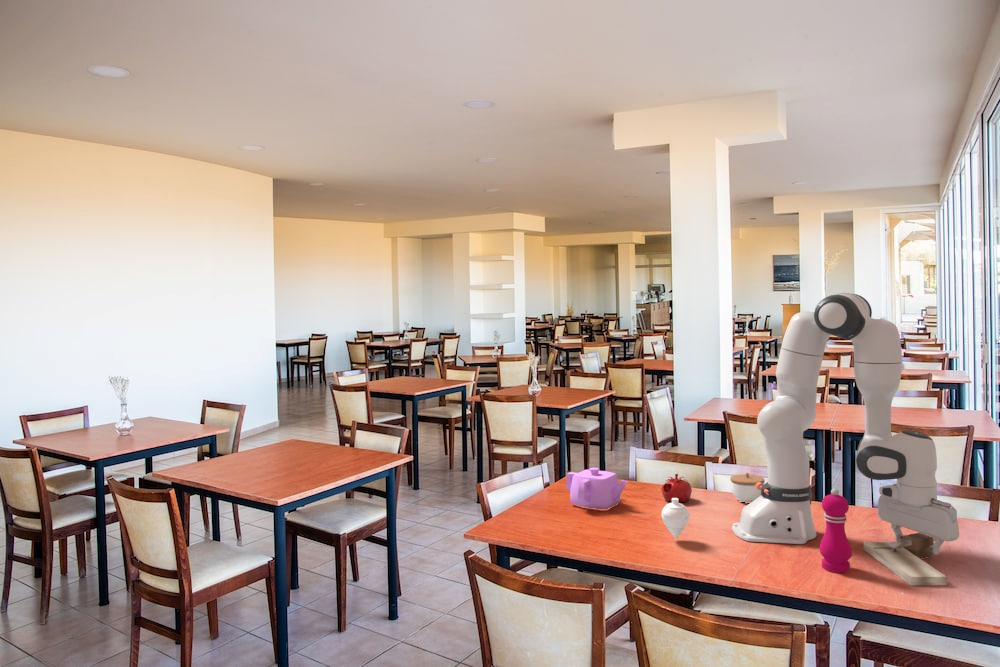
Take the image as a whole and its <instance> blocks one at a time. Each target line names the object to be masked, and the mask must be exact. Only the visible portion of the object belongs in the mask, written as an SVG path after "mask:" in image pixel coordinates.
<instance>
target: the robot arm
mask: <svg viewBox="0 0 1000 667" xmlns="http://www.w3.org/2000/svg"><path fill="white" fill-rule="evenodd" d="M872 311H873V310H872V306H871V304H870V302H869V301H868V300H867V299H866V298H865V297H863V296H862V295H859V294H856V293H849V292H848V293H847V292H840V293H837V294H832V295H828V296H826V297H824V298H823V299H821V300H820V301H819V302H818V303H817V304H816V306H815V309H814V312H812V311H800V312H797V313H795V314H793V315H792V317H791V318H790V320H789V322H788V325H787V327H786V330H785V333H784V336H783V337H782V338H783V339H782V342H781V347H780V350H779V356H778V361H777V364H776V370H775V377H776V396H775V400H773V401H770V402H768V403H767V404H765V405H764V406H763V407H762V408H761V410H759V413H758V415H757V418H756V420H757V421H756V422H757V427H758V429H759V431H760V433H761V435H762V440H763V444H764V448H765V452H766V462H767V463H766V464H767V466H766V467H767V468H766V470H767V481H766V483H764V485H763V484H762V483H760V482H757V484H755V486H756V488H757V489H758V490H761V496H760V497H758V498H757V499H755V500H754V501H753V502H751V503H750V504H747V505H744V507H742V510H741V513H740V518H739V522H738V521H737V522H734V523H732V526H731V530H732V533H733V534H734V535H735V536H737V537H738V538H739V539H741V540H743V541H747V542H756V543H771V544H772V543H773V544H775V543H776V544H789V545H790V544H793V545H804V544H806V543H807V542H808V541H810V540H811V541H812V540H814V539H815V538H817V531H816V529H815V524H814V520H813V516H812V515H813V514H812V507H811V505H812V500H813V494H812V485H811V484H810V483H811V482H810V457H809V455H808V453H807V451H806V446H805V441H804V432H805V431H807V430H808V429H809V428H811V426H812V425H813V423H814V422H815V420H816V417H817V409H816V408H817V407H816V405H817V396H818V395H817V392H818V391H817V390H818V381H819V377H820V371H821V368H822V363H823V359H824V354H825V349H826V345H827V342H828V340H829V339H830V337H831V336H833V337H837V338H840V339H844V340H849V341H851V343H852V348H853V371H854V372H853V373H854V379H855V380H854V381H855V383H856V387H857V389H858V390H859V392H860V394H861V396H862V398H863V399H862V400H863V404H864V433H863V435H862V438H861V439H860V440H859V441H860V442H859V443H858V446H857V452H856V458H855V459H856V460H855V461H856V462H855V463H856V466H857V469H858V471H859V472H860V473H861V474H862V475H863V476H865V477H867V478H868V479H870V480H872V481H873V480H874V481H886V480H887V481H889V480H896V483H894V484H886V485H883V486H879V490H878V492H879V494H880V496H879V498H878V501H877V503H878V504H877V515H878V517H879V518H880V521H883V522H885V523H889V524H891V529H892V531H893V533H894V535H895V542H898V541H902V536H905V535H906V534H903V531H902V529H901V528H904V529H907V530H910V531H914V532H916V533H922V534H925V535H928V536H931V537H933V541H934V545H932V546H929V549H930V550H929V552H930V553H932V554H934V555H939V554H940V550H941V549H940V548H941V546H942V545H944V542H955V541H957V540H958V539H959V538H960V529H959V528H960V527H959V523H958V522H959V521H958V512H957V509H956V508H955V507H954V506H953V505H952V503H950V502H948V501H946V502H945V501H942V500H939V499H938V482H937V480H936V471H937V468H938V461H937V459H938V458H937V447H936V444H935V441H934V439H933V438H931V436H929V435H928V434H926V433H924V432H920V431H915V430H912V429H911V430H910V429H909V430H908V429H907V430H906V429H904V430H900V431H898V432H897V433H896V434H893V433H892V404H893V400H894V397H895V395H896V394H897V391H898V390H899V387H900V383H901V378H902V370H903V353H902V344H901V337H900V333H899V329H898V327H897V326H896V325H895V323H894V322H892V321H890V320H887V319H882V318H873V317H872V315H873V312H872ZM892 434H893V435H892Z"/></svg>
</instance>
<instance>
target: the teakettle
mask: <svg viewBox="0 0 1000 667" xmlns="http://www.w3.org/2000/svg"><path fill="white" fill-rule="evenodd" d="M627 484H628V480H624V479H621V480H620V482H619V479H618V475H617V473H616V472H611V471H610V470H600V468H599V467H590V468H589V469H583V470H581V471H579V472H571V471H570V472H567V473H566V490H568V491H569V492H570V493H569V494H570V497H569V499H570V500H569V501H570V503H572V504H576V505H579V506H584V507H589V508H596V509H608V508H610V507H612V506H614V505H616V504H617V503H619V504H620V501H621V495H622V492H623V491H624V489H625V487H626V486H627ZM572 504H571V505H572ZM616 506H617V505H616Z"/></svg>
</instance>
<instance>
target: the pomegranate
mask: <svg viewBox="0 0 1000 667" xmlns="http://www.w3.org/2000/svg"><path fill="white" fill-rule="evenodd" d="M674 477H675V478H673V477H672V476H669V478H668V479H666V480H665V482H664V484H663V485H662V486H661V493H662V497H663V498H664V499H665V501H667V502H669V501H671V502H670V503H672V498H678V499H679V500H678V502H684V503H687V502H688V501H689V500H690V498H691V496H692V493H693V492H692V491H693V490H692V486H691V484H690V483H689V479H685V477H684V476H679V473H674ZM682 478H683V479H682Z"/></svg>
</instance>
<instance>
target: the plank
mask: <svg viewBox="0 0 1000 667" xmlns="http://www.w3.org/2000/svg"><path fill="white" fill-rule="evenodd" d="M893 542H894V541H863V551H864V552H867V554H868V555H870V556H871V557H873V558H874V559H875V560H876V561H878V562H879V563H881V564H882V565H883V566H885V567H886V568H887V569H889V570H890V571H891V572H893V574H895V575H897V576H898V577H899V578H900V579H901V580H903V581H904V582H905V583H907V584H908V585H910V586H948V576H946V575H945V574H944V573H942V572H940V571H939V570H938V569H937V568H934V567H933V566H932V565H930V564H928V563H927V562H926V561H925V560H922V559H920V558H918V557H917V556H915V555H914V554H912V553H911V552H909V551H908V550H906V549H905V548H903V547H899V548H897V552H894V548H892V547H890V543H893Z"/></svg>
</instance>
